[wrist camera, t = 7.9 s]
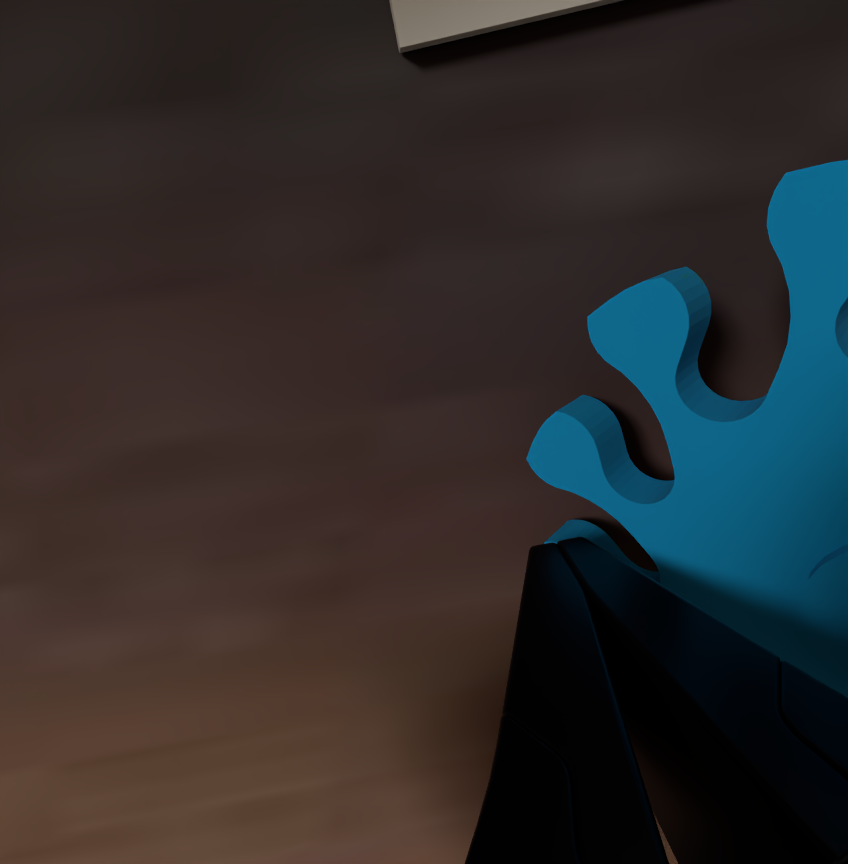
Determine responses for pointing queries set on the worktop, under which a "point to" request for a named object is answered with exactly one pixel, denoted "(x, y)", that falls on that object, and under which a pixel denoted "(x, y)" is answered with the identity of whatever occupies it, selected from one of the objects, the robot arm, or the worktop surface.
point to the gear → (733, 444)
